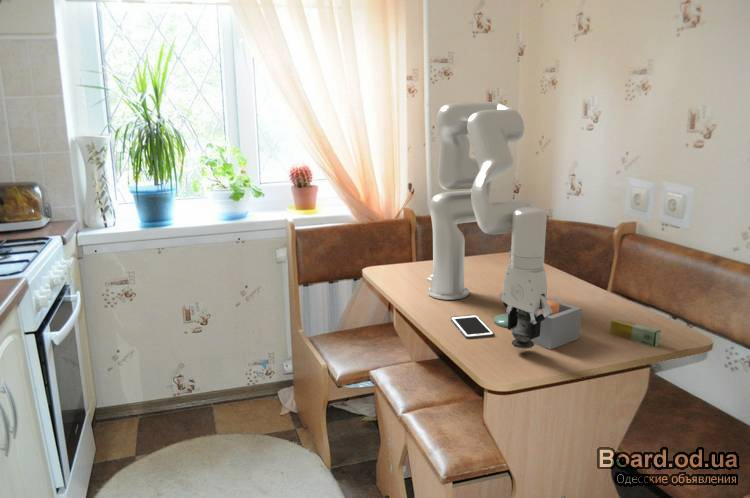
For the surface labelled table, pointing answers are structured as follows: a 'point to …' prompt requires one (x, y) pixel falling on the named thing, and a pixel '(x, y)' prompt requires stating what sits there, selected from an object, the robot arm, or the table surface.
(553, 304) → the button
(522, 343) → the grey stone statuette
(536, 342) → the gray open box
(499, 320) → the coaster
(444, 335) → the table surface
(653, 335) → the medication box
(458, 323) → the cell phone
